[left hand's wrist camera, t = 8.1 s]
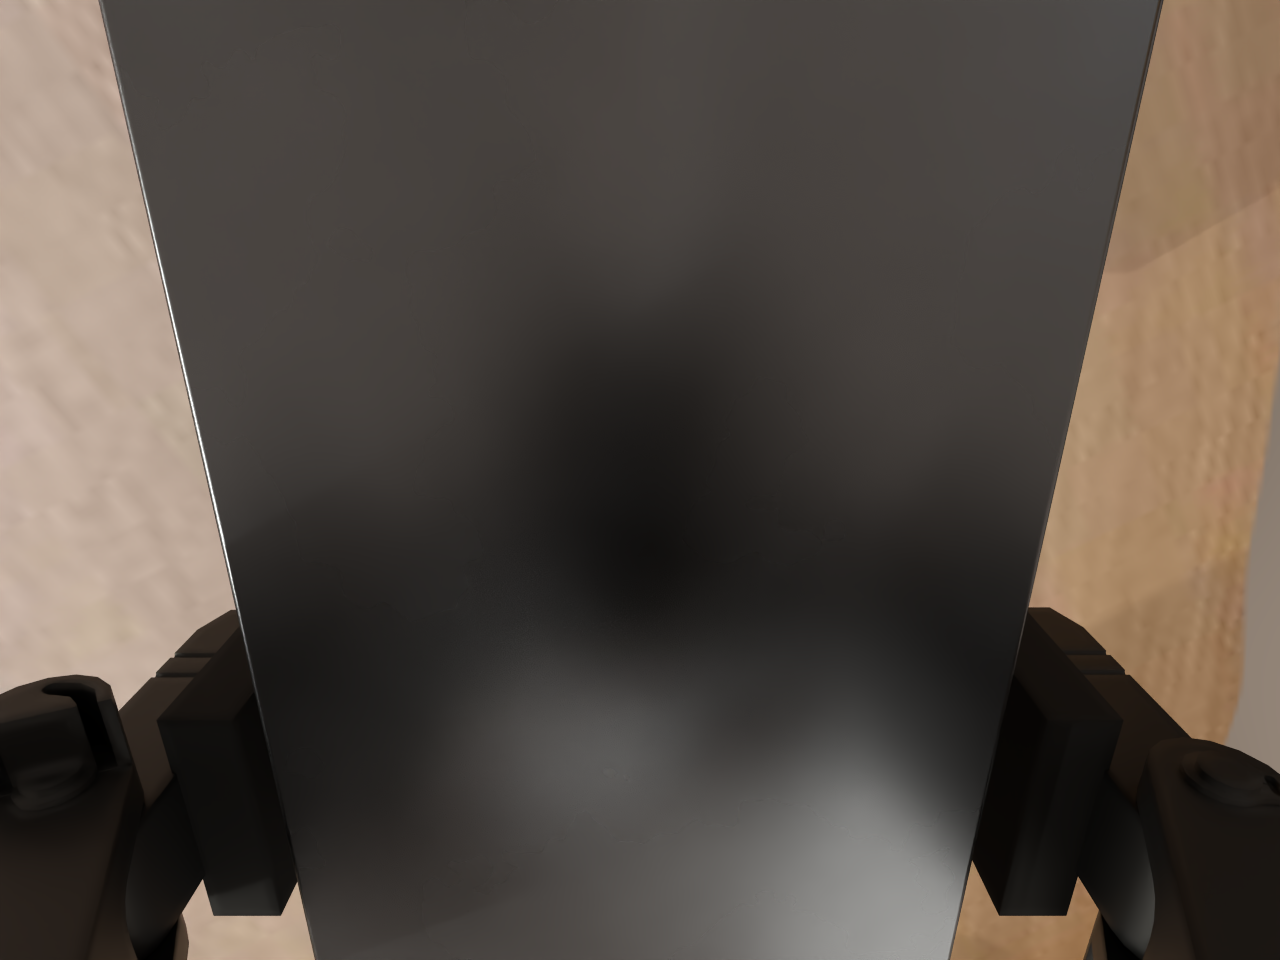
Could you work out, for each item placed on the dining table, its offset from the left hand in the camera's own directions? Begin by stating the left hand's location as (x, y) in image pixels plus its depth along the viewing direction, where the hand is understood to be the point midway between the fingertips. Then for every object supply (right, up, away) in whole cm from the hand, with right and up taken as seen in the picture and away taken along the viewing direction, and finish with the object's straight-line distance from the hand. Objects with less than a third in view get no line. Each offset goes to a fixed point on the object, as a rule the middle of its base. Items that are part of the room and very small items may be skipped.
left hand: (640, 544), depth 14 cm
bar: (0, +9, -2) cm, 9 cm away
